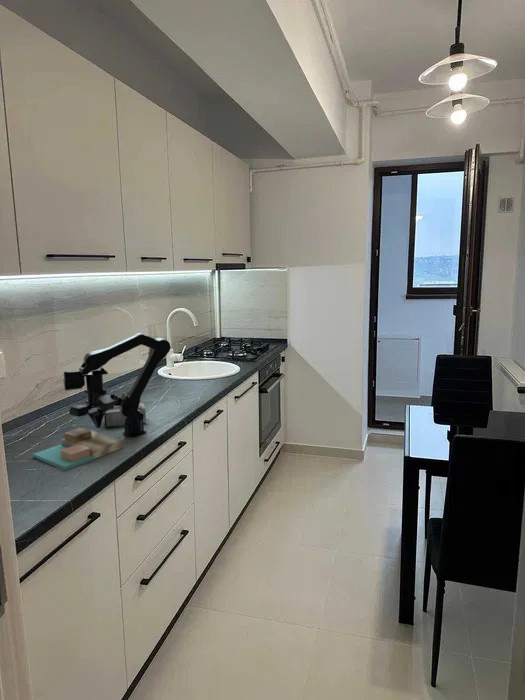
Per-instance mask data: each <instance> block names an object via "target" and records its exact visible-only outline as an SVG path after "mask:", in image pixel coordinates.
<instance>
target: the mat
mask: <svg viewBox="0 0 525 700" xmlns="http://www.w3.org/2000/svg"><path fill="white" fill-rule="evenodd" d="M66 448H68V447H66V446H63V445H62V444H59V445H56V446H53V447H49V448H47V449H44V450H41V451H38V452H34V453H33V454H32V457H33V458H34V459H37V460H40V461H41V462H44V463H47V464H49V465H52V466H54V467H56V468H58V469H61V470H64V471H68V470H71V469H73V468H75V467H78V466H81V465H83V464H86V463H88V462H91V461H94V459H93V456H91V455H90V456H87V457H84V458H82V459H79V460H76V461H74V462H72V461H69V460H67V459H64V458H61V450H63V449H66Z"/></svg>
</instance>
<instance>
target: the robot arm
mask: <svg viewBox="0 0 525 700" xmlns="http://www.w3.org/2000/svg"><path fill="white" fill-rule="evenodd" d="M139 346H145V347H147V348H149V350H148V356H147V359H146V361H145V362H144V364H143V367H142V369H141V370H140V371H139V374H138V376H137V378H136V380H135V381H134V383H133V385H132V386H131V388H130V390H129V391H128V392H127V393H125V392H123V393H122V395H121V397H120V396H119V395H118V394H117V393H111V394H108V393H107V390H106V389H107V388H104V379H103V378H104V376H103V375H108V374H109V372H108V371H107V369H104V367H103V366H105V365H106V364H107V363H109V361H110V360H112V359H113V358H115V357H118V356H120V355H122V354H124V353H126V352H128V351H130V350H133V349H135V348H137V347H139ZM171 349H172V347H171V344H170V342H169V341H168V340H167V339H165V338H163V337H156V338H154V337H150V336H149V335H145V334H144V333H142V332H137V333H135V334H134V335H132V336H130V337H128V338H126V339H123V340H121V341H119V342H117V343H116V344H112V345H110V346H108V347H106V348H103V349H97V350H94V351H93V350H92V351H89V352H87V353H86V354H85V355H84V357H83V363H82V364H81V366H80V367H79V369H78V370H64V371H63V387H64V391H66V392H67V391H73V390H82V388H84V386H86V389H84V394H86V396H87V400H85V405H83V404H77V405H73V406H70V408H69V415H71V416H74V417H78V418H79V417H83V416H87V415H88V417H89V418H90V419H91V421H92V423H93V424H94V427H95V428H96V429H101V426H102V422H103V419H104V414H105V413H106V412H107V411H108V410H109V409H113V408H114V406H118V405H119V406H118V407H119V410H120V411H121V413H122V414H123V415H124V416H125V417H127V418H126V419H125V424H124V425H123V427H124V432H122V434H123V435H125V436H129V437H131V438H136V437H138V436H141V435H144V434H147V432H148V431H147V430H144V429H145V428H144V423H143V416H144V415H143V413H142V412H141V411H140V410H139V409H138V407H139V404H140V403H141V402H140V401H141V397H142V395H143V393H144V392H145V389H146V387H147V385H148V384H149V382H150V380H151V378H152V376H153V374H154V373H155V370H156V368H157V366H158V365H159V364H160V363H161V362H162V361H163V359H165V357H166V356H168V354H169V353H170V350H171ZM85 383H86V384H85ZM86 404H87V405H86Z"/></svg>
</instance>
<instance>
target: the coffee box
mask: <svg viewBox="0 0 525 700" xmlns="http://www.w3.org/2000/svg"><path fill="white" fill-rule="evenodd" d="M118 406H119V405H118ZM118 406H115V405H114V408H113V409H109V410H108V411H107V412H106V413H105V414H104V416H103V419H104V427H105V428H112V427H121V426H123V427H124V424H125V419H126V418H127V417H125V416H124V415H123V414H122V413H121V411H120V410H119V407H118ZM138 409H139V410H140V411H141V412H142V413H143V415H144V416H143V424H146V423H147V414H146V410H147V409H146V407H145V404H144V402H140V404H139V407H138Z"/></svg>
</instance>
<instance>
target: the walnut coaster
mask: <svg viewBox="0 0 525 700" xmlns="http://www.w3.org/2000/svg"><path fill="white" fill-rule="evenodd" d="M63 434H64V435H63V437H64V439H65V440H67V441H70V442H73V443H78V442H81V441H84V440H87V439H90V438H92V433H91V431H90V430H89V429H87V428H84V427H79V428H76V429H73V430H69V431H66V432H63Z"/></svg>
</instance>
